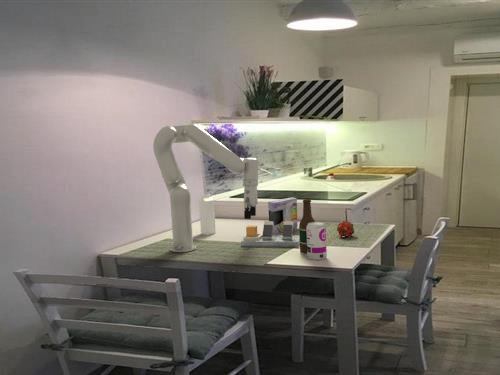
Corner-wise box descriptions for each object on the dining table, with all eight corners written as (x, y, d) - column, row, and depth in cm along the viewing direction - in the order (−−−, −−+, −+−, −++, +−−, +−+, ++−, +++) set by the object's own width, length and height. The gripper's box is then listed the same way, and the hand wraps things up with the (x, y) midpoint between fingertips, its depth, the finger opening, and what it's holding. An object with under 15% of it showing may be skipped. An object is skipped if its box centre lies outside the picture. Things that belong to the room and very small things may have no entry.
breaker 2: (291, 238, 225) (293, 221, 230) (281, 238, 227) (283, 221, 231) (292, 240, 227) (293, 223, 232) (282, 240, 228) (284, 223, 233)
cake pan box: (273, 234, 252) (272, 202, 250) (267, 233, 256) (265, 201, 254) (298, 228, 264) (297, 197, 262) (292, 227, 268) (291, 197, 266)
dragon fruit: (348, 236, 245) (346, 245, 234) (334, 227, 246) (332, 235, 235) (357, 224, 242) (356, 232, 231) (343, 215, 243) (341, 223, 232)
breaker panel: (298, 247, 221) (297, 239, 221) (241, 246, 228) (240, 238, 228) (302, 240, 235) (302, 232, 234) (248, 239, 242) (248, 232, 241)
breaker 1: (271, 238, 228) (273, 221, 233) (261, 237, 229) (263, 221, 234) (272, 240, 230) (274, 223, 235) (262, 239, 231) (264, 223, 236)
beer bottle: (315, 249, 216) (314, 197, 213) (318, 253, 208) (316, 200, 205) (298, 250, 216) (297, 198, 213) (301, 254, 208) (299, 201, 205)
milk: (215, 233, 262) (214, 194, 259) (207, 235, 258) (205, 195, 255) (209, 231, 266) (207, 193, 264) (200, 233, 262) (198, 194, 260)
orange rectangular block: (255, 239, 231) (254, 227, 230) (246, 239, 232) (246, 227, 232) (257, 237, 235) (257, 225, 235) (248, 237, 237) (248, 225, 236)
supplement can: (330, 257, 201) (329, 222, 200) (319, 261, 195) (318, 226, 194) (314, 254, 207) (313, 221, 205) (303, 258, 201) (302, 224, 199)
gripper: (253, 184, 221) (253, 220, 223) (261, 181, 238) (261, 215, 240) (238, 184, 223) (238, 219, 225) (247, 181, 240) (247, 214, 241)
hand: (250, 217), depth 232 cm, fingers open, 9 cm apart
